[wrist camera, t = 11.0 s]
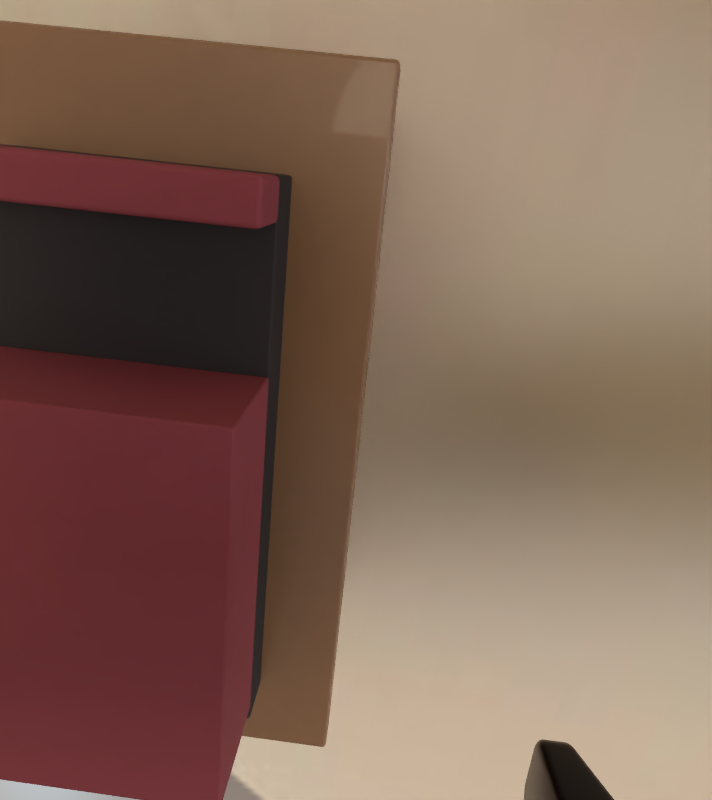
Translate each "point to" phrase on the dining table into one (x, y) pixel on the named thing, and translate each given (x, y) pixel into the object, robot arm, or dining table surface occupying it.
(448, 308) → the dining table surface
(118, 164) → the dark red two-tone block
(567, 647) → the dining table surface
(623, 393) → the dining table surface
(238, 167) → the shoebox
